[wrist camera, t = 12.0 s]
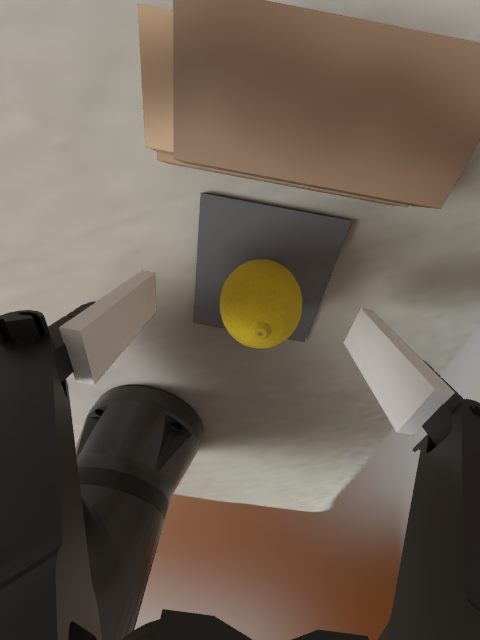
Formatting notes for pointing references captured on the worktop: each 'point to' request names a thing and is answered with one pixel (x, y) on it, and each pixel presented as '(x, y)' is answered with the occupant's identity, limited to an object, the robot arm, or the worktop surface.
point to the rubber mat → (263, 251)
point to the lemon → (261, 304)
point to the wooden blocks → (309, 99)
